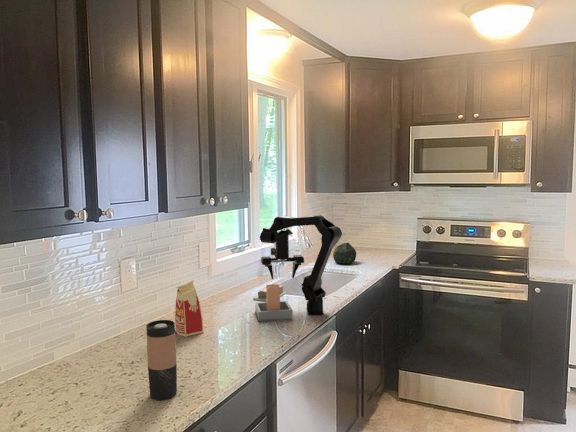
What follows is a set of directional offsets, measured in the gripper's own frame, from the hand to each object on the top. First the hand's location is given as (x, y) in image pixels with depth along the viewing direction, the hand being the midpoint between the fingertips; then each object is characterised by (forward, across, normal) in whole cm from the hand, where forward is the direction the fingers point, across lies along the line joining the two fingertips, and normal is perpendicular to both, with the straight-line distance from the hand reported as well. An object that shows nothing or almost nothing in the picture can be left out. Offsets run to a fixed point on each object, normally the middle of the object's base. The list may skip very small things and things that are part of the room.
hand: (282, 278), depth 211 cm
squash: (+13, -55, -89) cm, 105 cm away
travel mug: (+13, +46, +75) cm, 89 cm away
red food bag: (+13, +41, +24) cm, 49 cm away
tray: (+13, +6, +11) cm, 18 cm away
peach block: (+12, +6, +11) cm, 18 cm away
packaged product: (+14, +3, -20) cm, 24 cm away
